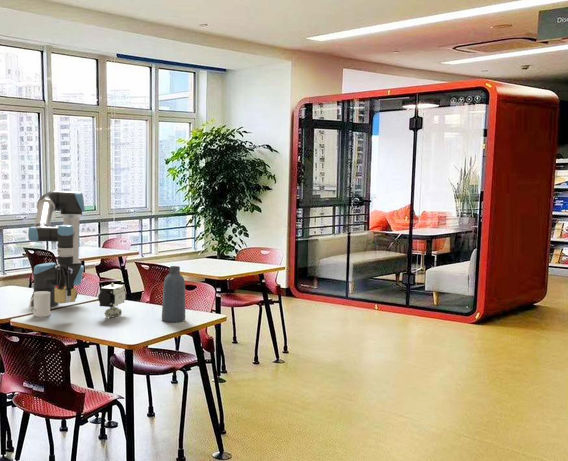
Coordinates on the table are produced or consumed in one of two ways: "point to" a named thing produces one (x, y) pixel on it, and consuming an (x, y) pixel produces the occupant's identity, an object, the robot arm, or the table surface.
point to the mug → (41, 304)
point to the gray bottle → (174, 297)
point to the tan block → (61, 295)
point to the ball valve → (112, 299)
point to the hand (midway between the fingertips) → (64, 300)
